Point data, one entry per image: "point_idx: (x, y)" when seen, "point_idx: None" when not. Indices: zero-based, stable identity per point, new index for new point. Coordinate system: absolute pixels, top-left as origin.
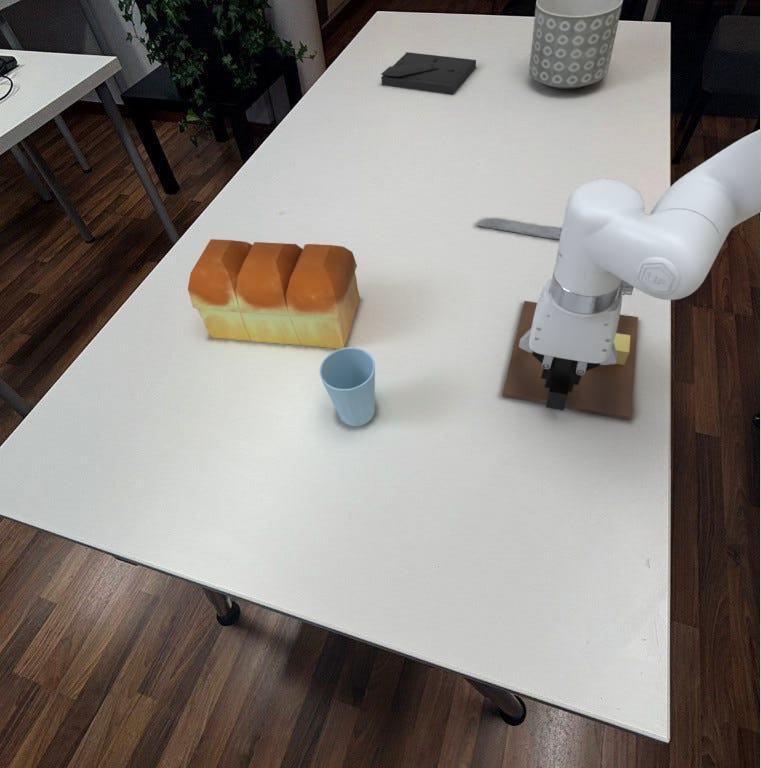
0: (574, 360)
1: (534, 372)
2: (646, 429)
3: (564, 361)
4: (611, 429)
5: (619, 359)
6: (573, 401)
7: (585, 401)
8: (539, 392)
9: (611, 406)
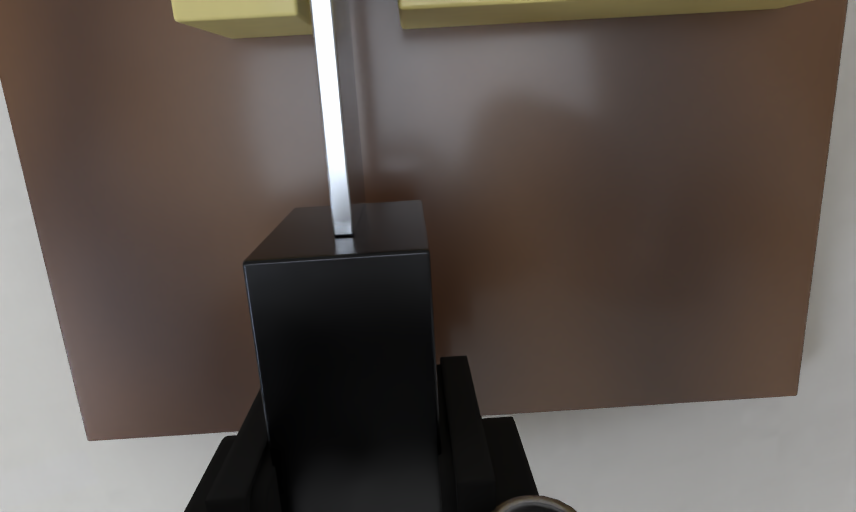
0: (455, 499)
1: (214, 245)
2: (850, 401)
3: (364, 468)
4: (684, 449)
5: (766, 3)
6: (486, 388)
7: (551, 369)
8: None
9: (694, 363)
